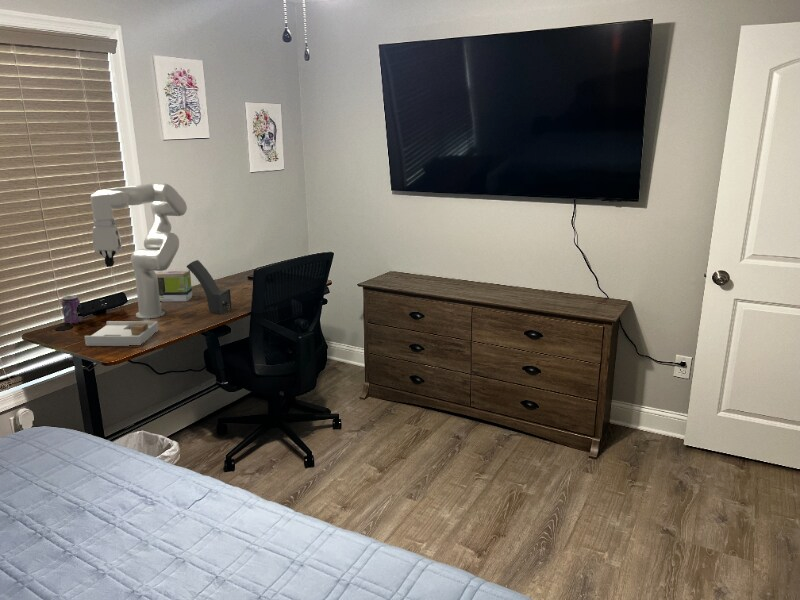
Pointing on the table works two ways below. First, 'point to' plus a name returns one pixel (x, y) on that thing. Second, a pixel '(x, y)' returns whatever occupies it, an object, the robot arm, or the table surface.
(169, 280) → the tea box
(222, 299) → the light fixture
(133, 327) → the walnut block
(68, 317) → the beverage can
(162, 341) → the table surface
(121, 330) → the box
